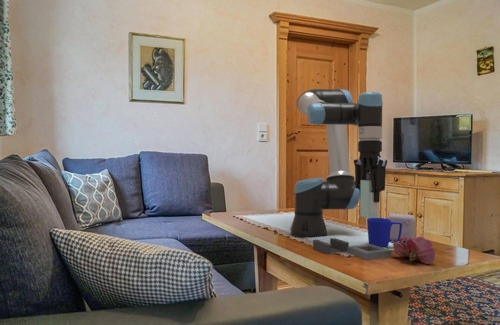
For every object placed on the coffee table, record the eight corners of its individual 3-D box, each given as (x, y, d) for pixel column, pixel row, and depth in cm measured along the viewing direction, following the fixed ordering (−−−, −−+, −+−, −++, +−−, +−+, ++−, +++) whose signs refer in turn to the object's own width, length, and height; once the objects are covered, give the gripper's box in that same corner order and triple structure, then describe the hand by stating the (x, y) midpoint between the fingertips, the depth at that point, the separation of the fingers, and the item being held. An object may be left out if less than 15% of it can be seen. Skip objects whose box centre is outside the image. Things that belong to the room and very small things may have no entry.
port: (346, 254, 131) (346, 245, 131) (370, 251, 136) (370, 242, 136) (367, 261, 122) (367, 252, 122) (391, 258, 126) (391, 249, 126)
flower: (403, 266, 129) (419, 241, 130) (426, 278, 119) (443, 250, 121) (381, 249, 125) (397, 223, 126) (403, 260, 116) (420, 231, 117)
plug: (360, 216, 129) (360, 172, 129) (369, 215, 131) (370, 172, 131) (368, 218, 126) (368, 173, 126) (378, 217, 127) (378, 173, 127)
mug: (403, 250, 137) (404, 222, 137) (367, 248, 139) (368, 220, 139) (399, 245, 145) (400, 218, 145) (365, 243, 147) (366, 217, 147)
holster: (313, 250, 137) (313, 240, 137) (334, 248, 140) (334, 238, 140) (326, 255, 129) (326, 245, 129) (348, 253, 133) (348, 242, 133)
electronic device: (386, 240, 153) (386, 214, 153) (388, 238, 158) (388, 213, 157) (413, 243, 149) (414, 216, 149) (414, 240, 153) (415, 215, 153)
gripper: (344, 140, 134) (343, 208, 135) (379, 138, 119) (378, 215, 119) (361, 141, 138) (361, 207, 138) (398, 139, 122) (397, 214, 122)
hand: (369, 211), depth 128 cm, fingers closed on plug, 4 cm apart
